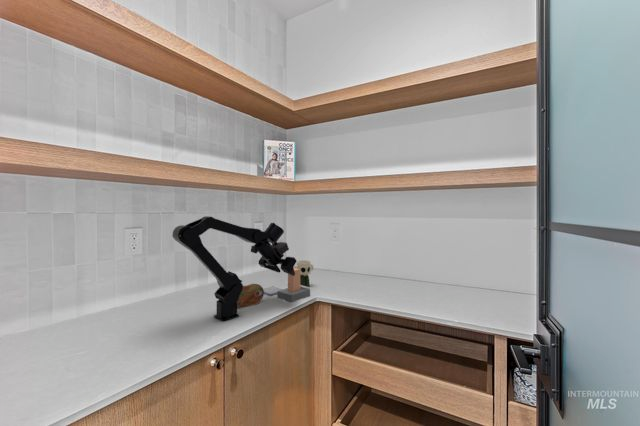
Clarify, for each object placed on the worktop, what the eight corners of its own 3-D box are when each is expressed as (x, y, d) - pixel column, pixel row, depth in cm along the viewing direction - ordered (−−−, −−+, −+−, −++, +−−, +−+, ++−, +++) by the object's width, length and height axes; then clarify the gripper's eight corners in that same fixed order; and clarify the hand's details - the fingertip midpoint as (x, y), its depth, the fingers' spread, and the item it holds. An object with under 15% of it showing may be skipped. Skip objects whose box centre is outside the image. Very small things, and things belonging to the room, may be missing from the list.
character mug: (296, 289, 136) (296, 263, 135) (291, 286, 142) (291, 261, 142) (316, 287, 141) (316, 261, 141) (309, 283, 147) (310, 259, 147)
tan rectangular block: (293, 298, 122) (293, 270, 122) (287, 297, 124) (288, 269, 124) (300, 296, 125) (300, 269, 125) (294, 294, 127) (295, 268, 127)
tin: (229, 310, 107) (229, 289, 107) (226, 308, 109) (226, 287, 109) (264, 302, 116) (264, 282, 116) (260, 300, 119) (260, 281, 119)
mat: (270, 296, 125) (270, 293, 125) (258, 292, 131) (258, 290, 131) (285, 291, 132) (285, 289, 132) (272, 288, 138) (272, 286, 138)
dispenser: (291, 302, 117) (291, 292, 117) (277, 297, 123) (277, 288, 123) (310, 295, 126) (310, 286, 126) (296, 291, 132) (296, 283, 132)
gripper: (293, 238, 111) (311, 261, 119) (263, 235, 123) (282, 256, 131) (278, 260, 105) (298, 283, 113) (249, 254, 117) (269, 275, 125)
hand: (286, 273), depth 121 cm, fingers open, 9 cm apart
